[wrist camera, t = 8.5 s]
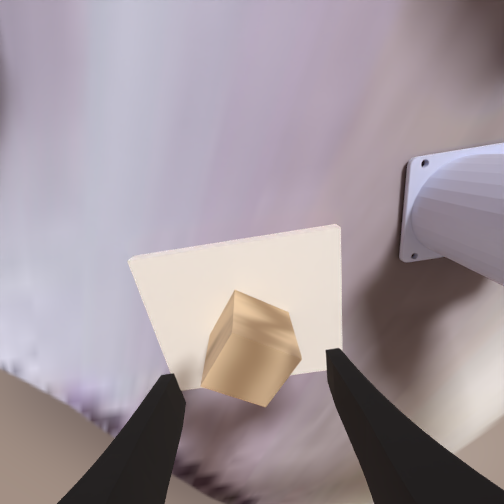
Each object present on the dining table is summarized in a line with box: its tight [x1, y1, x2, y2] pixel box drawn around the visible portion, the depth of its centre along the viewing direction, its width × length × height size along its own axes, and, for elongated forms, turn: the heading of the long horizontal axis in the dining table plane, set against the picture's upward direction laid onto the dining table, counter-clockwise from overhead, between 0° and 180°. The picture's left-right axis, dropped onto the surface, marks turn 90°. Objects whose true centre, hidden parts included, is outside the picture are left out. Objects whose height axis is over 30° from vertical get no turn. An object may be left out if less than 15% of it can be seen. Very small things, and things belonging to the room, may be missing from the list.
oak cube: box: [200, 290, 302, 407], centre depth 18 cm, size 5×5×5 cm
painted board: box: [128, 224, 342, 391], centre depth 21 cm, size 16×14×1 cm
